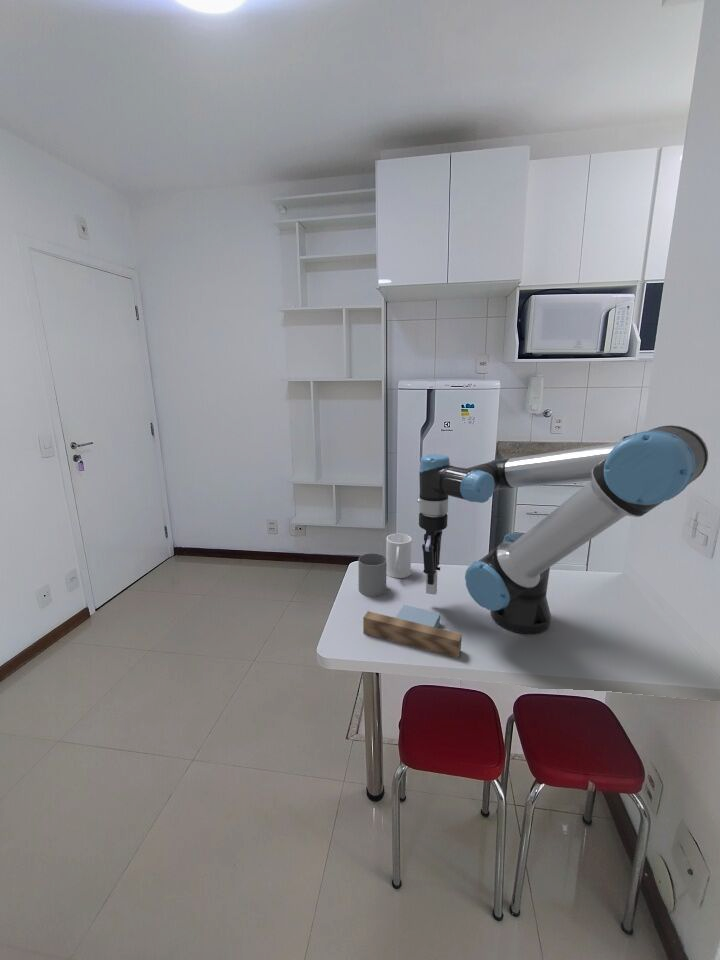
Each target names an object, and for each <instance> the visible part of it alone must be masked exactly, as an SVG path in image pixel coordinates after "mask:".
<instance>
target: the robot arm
mask: <svg viewBox="0 0 720 960" xmlns="http://www.w3.org/2000/svg"><path fill="white" fill-rule="evenodd" d="M708 461H709V451H708V447H707V444H706V443H705V441H704V440H703V438H702V437H701V436H700V435H699V434H698V433H696V432H695V431H693V430H692V429H689V428H688V427H683V426H680V425H672V424H671V425H663V426H658V427H654V428H652V429H649V430H645V431H640V432H637V433H633V434H629V435H624V436H622V437H621V439H620V440H619V441H618V442H617V441H616V442H610V443H604V444H595V445H591V446H585V447H583V446H582V447H578V448H571V449H565V450H556V451H551V452H545V453H538V454H533V455H532V454H531V455H525V456H517V457H511V458H499V459H498V458H497V459H494V460H491V461H488V462H485V463H481V464H477V465H474V466H471V467H461V466H459V467H458V466H454V465H450V464H451V462H450V458H449V456H448V455H444V454H440V453H439V454H426V455H423V456H422V457H421V458H420V461H419V463H420V464H419V473H418V475H419V498H418V499H417V503H419V506H418V507H419V509H418V510H419V514H418V526H419V527H420V528H421V529H422V530H424V531H425V533H424V535H423V540H424V543H423V544H422V545H421V547H422V549H421V550H422V554H423V573H424V574H425V575H426V577H425V578H426V579H425V585H426V586H425V593H426V594H427V595H435V596H437V593H438V571H441V567H439V565H440V558H441V557H440V556H441V545H442V536H443V530H445V529H447V527H448V516H449V515H448V512H449V497H454V498H457V499H461V500H464V501H468V502H470V503H479V504H482V503H486V502H488V501H489V499H490V498H491V497H493V494H494V492H495V491H497V490H498V491H499V490H504V489H505V490H507V489H513V488H514V489H515V488H523V487H525V488H526V487H535V486H547V485H556V484H557V485H558V484H567V483H568V484H569V483H581V482H582V483H583V482H588V483H587V484H585V485H584V486H583V487H581V488H580V489H579V490H578V491H576V492H575V493H573V494H572V495H571V496H570V497H569V498H567V499H566V500H565V501H564V502H562V503H561V504H560V505H559V506H558V507H556V508H555V509H553V511H551V512H550V513H549V514H547V515H546V516H545V517H543V519H541V520H540V521H539V522H537V523H536V524H535V525H534V526H532V527H531V528H530V529H529V530H527V531H526V532H524V533H521V532H511V533H508V534H506V535H504V537H503V540H502V542H501V543H499V544H498V545H497V546H496V547H495V548H494V549H492V550H491V551H489V552H488V553H487V554H486V555H485V556H483V557H481V559H479V560H477V561H473V562H472V563H471V565H468V567H467V569H466V570H465V573H464V580H465V586H466V588H467V589H466V590H467V591H468V593H469V596H470V597H471V598H472V599H473V601H474V602H475V603H476V604H478V605H479V606H481V607H482V608H485V609H486V610H488V611H489V613H490V616H491V618H492V620H493V621H494V622H495V623H496V624H498V625H499V626H501V627H503V629H506V630H509V631H511V632H513V633H514V632H515V633H518V634H525V635H535V634H540V633H544V632H545V631H547V630H548V629H549V627H550V625H551V619H552V615H551V611H550V606H549V602H548V598H547V592H548V591H547V590H548V586H549V577H550V570H551V569H550V568H551V567H553V565H555V564H557V563H558V562H560V561H561V560H563V559H564V558H565V557H567V556H568V555H570V554H571V553H573V552H575V551H576V550H578V549H579V548H580V547H582V546H584V545H585V544H586V543H588V542H590V541H591V540H592V539H594V538H595V537H597V536H598V535H600V534H601V533H602V532H605V531H606V530H607V529H608V528H610V527H612V526H613V525H614V524H616V523H618V522H619V521H620V520H622V519H623V518H625V517H627V516H629V517H635V518H641V517H642V516H644V515H645V514H647V513H650V511H652V510H654V509H655V508H656V507H658V506H659V505H661V504H663V503H664V502H666V501H670V500H671V499H673V498H675V497H677V496H678V495H679V494H681V492H683V491H684V490H685V489H686V488H687V487H688V486H689V485H690V484H692V483H693V482H694V481H696V480H697V478H699V477H700V476H701V475H702V474H703V472H704V471H705V469H706V467H707V465H708Z"/></svg>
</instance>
